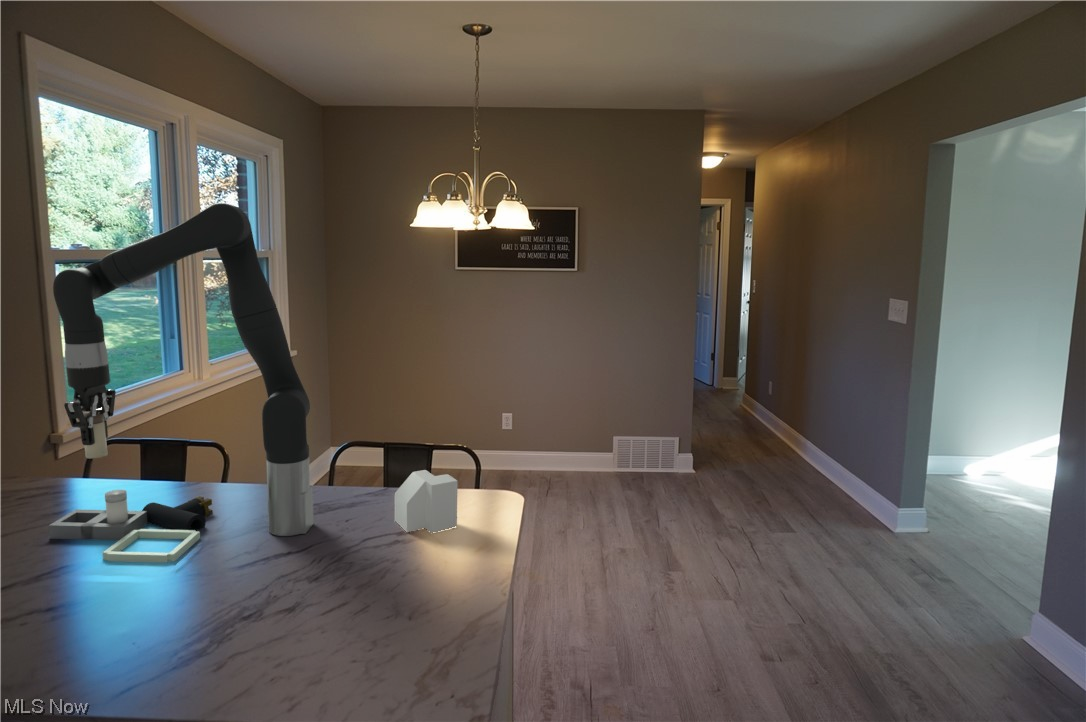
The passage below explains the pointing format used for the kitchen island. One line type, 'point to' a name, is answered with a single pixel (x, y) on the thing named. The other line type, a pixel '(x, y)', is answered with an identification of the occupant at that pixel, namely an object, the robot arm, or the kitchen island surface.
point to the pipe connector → (179, 514)
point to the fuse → (116, 506)
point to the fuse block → (95, 525)
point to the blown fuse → (97, 438)
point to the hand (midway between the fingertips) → (95, 441)
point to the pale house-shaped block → (426, 502)
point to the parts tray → (116, 555)
